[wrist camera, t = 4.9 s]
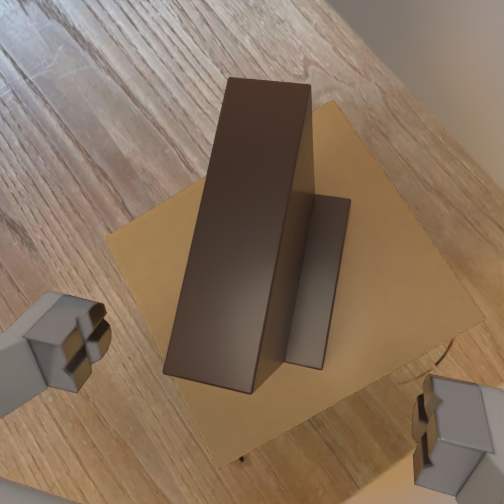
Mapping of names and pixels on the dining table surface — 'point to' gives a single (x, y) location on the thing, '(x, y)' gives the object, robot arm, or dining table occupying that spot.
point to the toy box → (345, 305)
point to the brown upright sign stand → (259, 246)
